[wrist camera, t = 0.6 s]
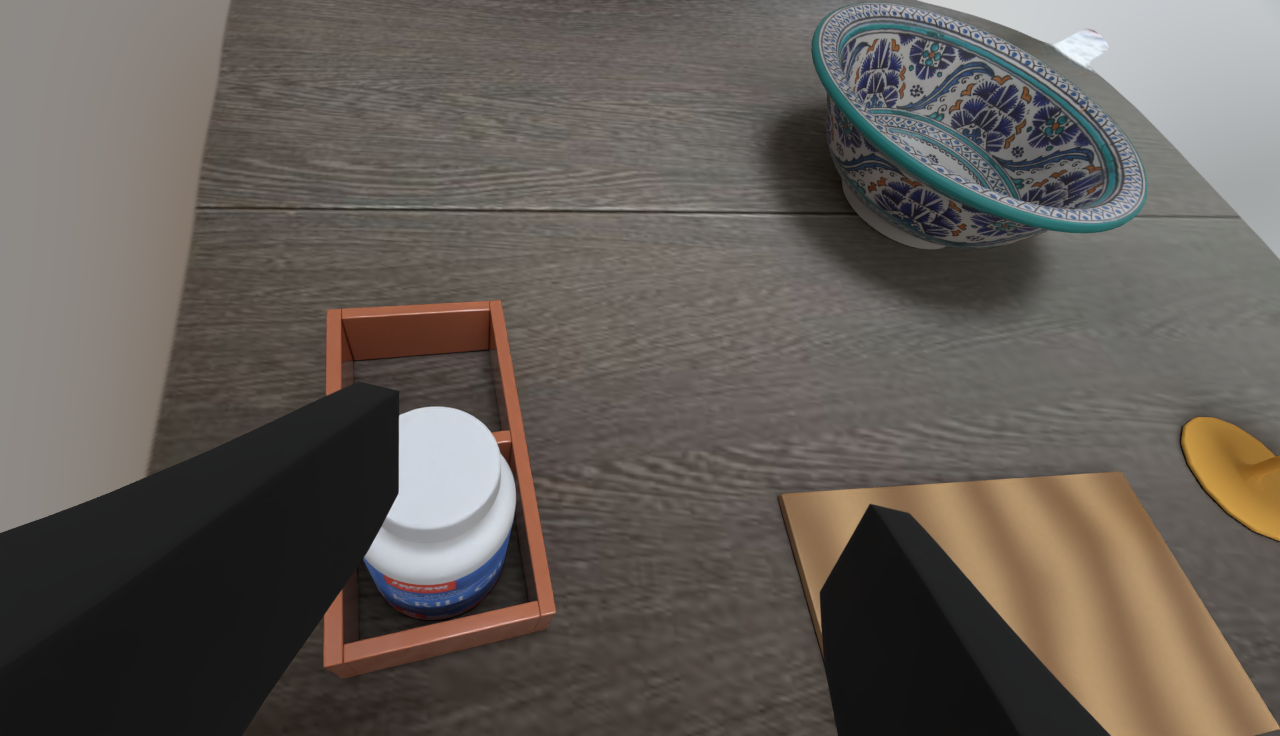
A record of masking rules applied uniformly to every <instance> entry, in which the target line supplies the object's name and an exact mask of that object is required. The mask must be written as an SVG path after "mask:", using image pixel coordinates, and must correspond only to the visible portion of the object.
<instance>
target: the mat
mask: <svg viewBox="0 0 1280 736" xmlns="http://www.w3.org/2000/svg"><path fill="white" fill-rule="evenodd" d="M778 500H779V503H780V507H781V510H782V514H783V517H784V521H785V524H786V528H787V532H788V535H789V539H790V542H791V546H792V549H793V553H794V556H795V560H796V563H797V567H798V570H799V574H800V577H801V581H802V585H803V588H804V592H805V595H806V599H807V602H808V606H809V609H810V613H811V616H812V620H813V623H814V627H815V630H816V634H817V638H818V641H819V645H820V648H821V652H822V655H823V642H822V630H821V611H820V591H821V589H822V587H823V585H824V583H825V582H826V580H827V578H828V576H829V575H830V573H831V571H832V569H833V568H834V566H835V564H836V562H837V561H838V559H839V557H840V555H841V554H842V552H843V550H844V548H845V547H846V545H847V543H848V541H849V540H850V538H851V536H852V534H853V533H854V531H855V529H856V527H857V525H858V524H859V522H860V520H861V518H862V517H863V515H864V513H865V511H866V510H867V508H868V506H869V504H874V505H878V506H882V507H886V508H890V509H895V510H899V511H903V512H907V513H910V514H911V515H912V516H913V517H914V518H915V519H916V520H917V521H918V522H919V523H920V524H921V526H922V527H923V528H924V529H925V530H926V531H927V532H928V533H929V534H930V535H931V537H932V538H933V539H934V540H935V541H936V542H937V543H938V544H939V546H940V547H941V548H942V549H943V550H944V551H945V552H946V554H947V555H948V556H949V557H950V558H951V559H952V560H953V562H954V563H955V564H956V565H957V566H958V567H959V568H960V570H961V571H962V572H963V573H964V574H965V575H966V577H967V578H968V579H969V580H970V581H971V582H972V584H973V585H974V586H975V587H976V588H977V589H978V590H979V592H980V593H981V594H982V595H983V596H984V597H985V599H986V600H987V601H988V602H989V603H990V604H991V605H992V607H993V608H994V609H995V610H996V611H997V612H998V614H999V615H1000V616H1001V617H1002V618H1003V619H1004V620H1005V621H1006V623H1007V624H1008V625H1009V626H1010V627H1011V628H1012V629H1013V631H1014V632H1015V633H1016V634H1017V635H1018V636H1019V637H1020V638H1021V640H1022V641H1023V642H1024V643H1025V644H1026V645H1027V646H1028V647H1029V649H1030V650H1031V651H1032V652H1033V653H1034V654H1035V655H1036V656H1037V657H1038V659H1039V660H1040V661H1041V662H1042V663H1043V664H1044V665H1045V666H1046V667H1047V668H1048V669H1049V671H1050V672H1051V673H1052V674H1053V675H1054V676H1055V677H1056V678H1057V679H1058V680H1059V681H1060V683H1061V684H1062V685H1063V686H1064V687H1065V688H1066V689H1067V690H1068V691H1069V692H1070V693H1071V694H1072V695H1073V696H1074V697H1075V698H1076V699H1077V700H1078V702H1079V703H1080V704H1081V705H1082V706H1083V707H1084V708H1085V709H1086V710H1087V711H1088V712H1089V713H1090V714H1091V715H1092V716H1093V717H1094V718H1095V719H1096V720H1097V721H1098V723H1099V724H1100V725H1101V726H1102V727H1103V728H1104V729H1105V730H1106V731H1107V732H1108V733H1109V734H1110V735H1111V736H1255V735H1259V734H1263V733H1267V732H1271V731H1275V730H1278V729H1280V727H1279V726H1278V724H1277V723H1276V721H1275V719H1274V718H1273V716H1272V714H1271V713H1270V711H1269V710H1268V708H1267V706H1266V705H1265V703H1264V702H1263V700H1262V698H1261V697H1260V695H1259V693H1258V692H1257V690H1256V689H1255V687H1254V685H1253V684H1252V682H1251V681H1250V679H1249V677H1248V676H1247V674H1246V672H1245V671H1244V669H1243V668H1242V666H1241V664H1240V663H1239V661H1238V659H1237V658H1236V656H1235V655H1234V653H1233V651H1232V650H1231V648H1230V647H1229V645H1228V643H1227V642H1226V640H1225V638H1224V637H1223V635H1222V634H1221V632H1220V630H1219V629H1218V627H1217V626H1216V624H1215V622H1214V621H1213V619H1212V617H1211V616H1210V614H1209V613H1208V611H1207V609H1206V608H1205V606H1204V604H1203V603H1202V601H1201V600H1200V598H1199V596H1198V595H1197V593H1196V592H1195V590H1194V588H1193V587H1192V585H1191V583H1190V582H1189V580H1188V579H1187V577H1186V575H1185V574H1184V572H1183V571H1182V569H1181V567H1180V566H1179V564H1178V562H1177V561H1176V559H1175V558H1174V556H1173V554H1172V553H1171V551H1170V549H1169V548H1168V546H1167V545H1166V543H1165V541H1164V540H1163V538H1162V537H1161V535H1160V533H1159V532H1158V530H1157V528H1156V527H1155V525H1154V524H1153V522H1152V520H1151V519H1150V517H1149V516H1148V514H1147V512H1146V511H1145V509H1144V507H1143V506H1142V504H1141V503H1140V501H1139V499H1138V498H1137V496H1136V494H1135V493H1134V491H1133V490H1132V488H1131V486H1130V485H1129V483H1128V482H1127V480H1126V478H1125V477H1124V475H1123V473H1122V472H1121V471H1119V472H1104V473H1088V474H1073V475H1058V476H1043V477H1028V478H1013V479H998V480H982V481H967V482H952V483H937V484H922V485H907V486H892V487H876V488H861V489H846V490H831V491H816V492H801V493H786V494H781V495H780V496H778ZM823 659H824V655H823Z"/></svg>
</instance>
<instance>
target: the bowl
mask: <svg viewBox="0 0 1280 736" xmlns="http://www.w3.org/2000/svg"><path fill="white" fill-rule="evenodd" d="M812 57H813V62H814V65H815V69H816V72H817V74H818V76H819V78H820V80H821V82H822V84H823V86H824V88H825V89H826V91H827V112H826V133H827V141H828V146H829V150H830V154H831V157H832V160H833V162H834V164H835V167H836V169H837V171H838V172H839V174H840V176H841V178H842V186H843V191H844V194H845V196H846V198H847V200H848V202H849V203H850V205H851V206H852V208H853V209H854V210H855V212H856V213H857V214H858V215H859V216H860V217H861V218H862V219H863V220H864V221H865V222H867V223H868V224H869V225H870V226H871V227H873V228H874V229H876V230H877V231H878V232H880V233H882V234H883V235H885V236H887V237H889V238H891V239H893V240H895V241H897V242H899V243H902V244H905V245H908V246H911V247H915V248H920V249H940V248H944V247H947V246H948V247H953V248H962V249H983V248H993V247H998V246H1003V245H1008V244H1012V243H1015V242H1018V241H1021V240H1024V239H1027V238H1030V237H1033V236H1036V235H1038V234H1041V233H1044V232H1047V231H1050V230H1052V231H1060V232H1069V233H1095V232H1103V231H1108V230H1112V229H1114V228H1117V227H1120V226H1122V225H1123V224H1125V223H1127V222H1128V221H1130V220H1132V219H1133V218H1134V217H1135V216H1136V215H1137V214H1138V213H1139V212H1140V210H1141V209H1142V207H1143V205H1144V204H1145V200H1146V197H1147V186H1148V185H1147V177H1146V173H1145V170H1144V167H1143V164H1142V162H1141V159H1140V157H1139V155H1138V154H1137V152H1136V150H1135V148H1134V147H1133V145H1132V144H1131V142H1130V141H1129V139H1128V138H1127V136H1126V135H1125V134H1124V133H1123V131H1122V130H1121V129H1120V127H1119V126H1118V125H1117V124H1116V123H1115V122H1114V121H1113V119H1112V118H1111V117H1110V116H1109V115H1108V114H1107V113H1106V112H1105V111H1104V110H1103V109H1102V108H1101V107H1100V106H1099V105H1098V104H1097V103H1095V102H1094V101H1093V100H1092V99H1091V98H1090V97H1089V96H1088V95H1086V94H1085V93H1084V92H1083V91H1082V90H1081V89H1079V88H1078V87H1077V86H1076V85H1074V84H1073V83H1072V82H1070V81H1069V80H1068V79H1066V78H1065V77H1064V76H1062V75H1061V74H1060V73H1058V72H1057V71H1055V70H1054V69H1052V68H1051V67H1049V66H1048V65H1046V64H1045V63H1043V62H1042V61H1040V60H1039V59H1037V58H1035V57H1034V56H1032V55H1030V54H1029V53H1027V52H1025V51H1024V50H1022V49H1020V48H1018V47H1016V46H1015V45H1013V44H1011V43H1009V42H1007V41H1005V40H1003V39H1001V38H999V37H997V36H995V35H993V34H991V33H989V32H987V31H984V30H982V29H980V28H978V27H975V26H973V25H970V24H968V23H965V22H963V21H960V20H957V19H954V18H952V17H949V16H946V15H942V14H939V13H936V12H932V11H929V10H925V9H921V8H917V7H912V6H907V5H901V4H893V3H881V2H866V3H857V4H852V5H847V6H844V7H841V8H839V9H837V10H835V11H833V12H831V13H829V14H828V15H827V16H826V17H824V18H823V20H822V21H821V22H820V23H819V25H818V26H817V28H816V30H815V33H814V36H813V40H812Z"/></svg>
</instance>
